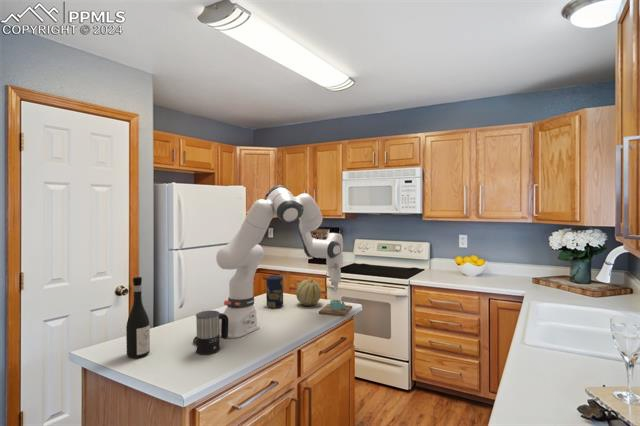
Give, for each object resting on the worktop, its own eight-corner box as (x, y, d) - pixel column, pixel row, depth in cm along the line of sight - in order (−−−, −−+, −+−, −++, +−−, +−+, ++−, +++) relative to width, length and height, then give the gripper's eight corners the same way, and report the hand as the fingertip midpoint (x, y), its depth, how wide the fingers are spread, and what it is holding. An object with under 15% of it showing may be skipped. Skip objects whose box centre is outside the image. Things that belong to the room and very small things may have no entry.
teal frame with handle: (331, 310, 198) (331, 302, 198) (330, 307, 204) (330, 300, 204) (345, 309, 199) (345, 302, 199) (343, 306, 204) (343, 299, 204)
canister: (280, 309, 204) (280, 276, 204) (263, 308, 206) (263, 276, 206) (285, 304, 214) (285, 273, 213) (269, 303, 215) (269, 272, 215)
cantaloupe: (303, 300, 223) (303, 275, 222) (325, 303, 216) (325, 277, 216) (291, 306, 209) (291, 280, 209) (314, 309, 203) (314, 282, 203)
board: (344, 316, 192) (344, 306, 191) (318, 313, 196) (318, 304, 196) (351, 307, 207) (351, 299, 206) (327, 305, 211) (327, 297, 211)
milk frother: (209, 356, 141) (209, 318, 141) (177, 350, 147) (176, 313, 147) (232, 343, 154) (231, 308, 154) (201, 338, 160) (201, 304, 160)
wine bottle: (154, 351, 146) (153, 275, 145) (141, 359, 138) (140, 280, 138) (135, 350, 148) (134, 275, 147) (122, 358, 140) (120, 279, 139)
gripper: (344, 265, 192) (343, 292, 192) (337, 259, 212) (336, 283, 212) (331, 265, 191) (331, 292, 191) (326, 259, 211) (325, 283, 212)
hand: (334, 287), depth 202 cm, fingers open, 8 cm apart
